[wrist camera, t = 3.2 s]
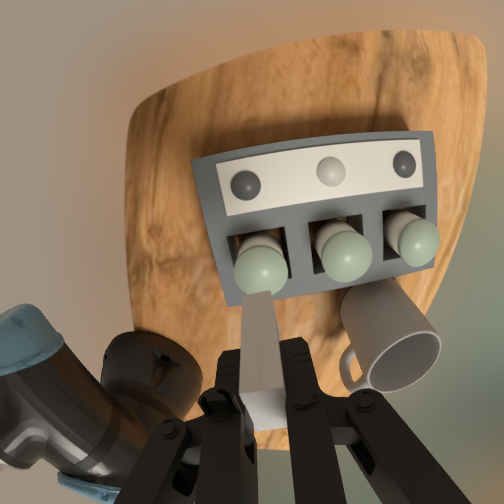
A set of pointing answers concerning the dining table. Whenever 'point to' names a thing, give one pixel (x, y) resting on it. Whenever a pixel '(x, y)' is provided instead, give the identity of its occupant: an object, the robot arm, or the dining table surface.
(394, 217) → the button
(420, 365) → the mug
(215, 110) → the dining table surface
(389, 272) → the button board
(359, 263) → the button mid
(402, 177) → the card
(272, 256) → the button
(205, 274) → the dining table surface
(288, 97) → the dining table surface
